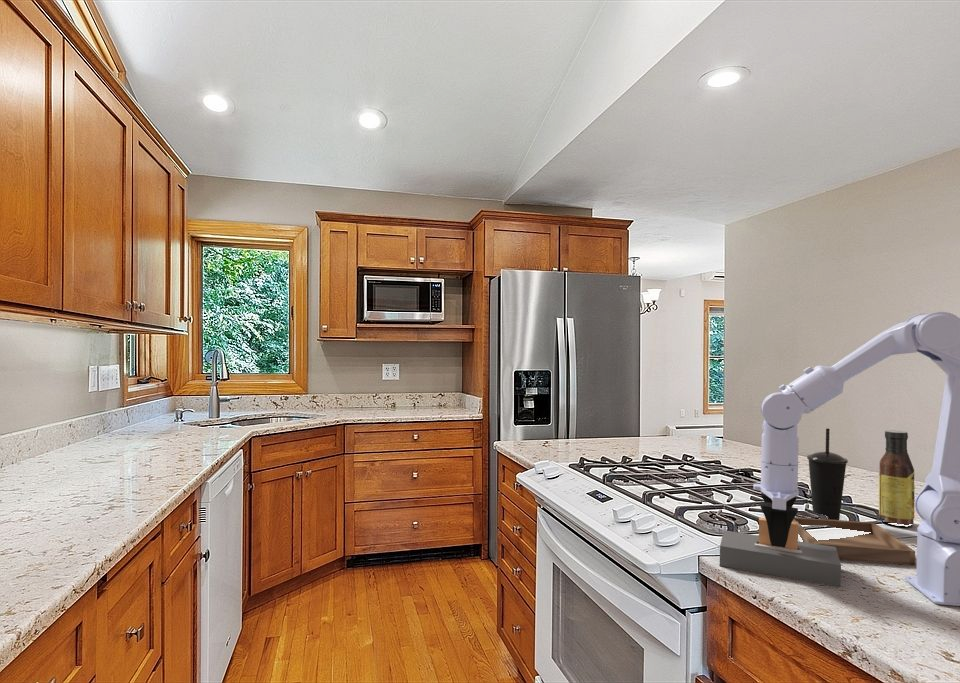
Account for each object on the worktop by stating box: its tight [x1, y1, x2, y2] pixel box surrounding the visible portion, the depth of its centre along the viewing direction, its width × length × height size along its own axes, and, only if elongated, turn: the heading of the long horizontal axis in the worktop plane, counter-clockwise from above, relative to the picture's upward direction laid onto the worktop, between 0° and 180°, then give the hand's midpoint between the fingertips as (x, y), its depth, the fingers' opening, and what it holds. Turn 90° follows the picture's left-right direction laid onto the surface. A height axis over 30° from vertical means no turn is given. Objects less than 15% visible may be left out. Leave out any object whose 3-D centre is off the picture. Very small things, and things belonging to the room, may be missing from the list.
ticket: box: [758, 516, 799, 550], centre depth 102 cm, size 6×2×8 cm, turn 63°
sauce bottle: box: [878, 429, 916, 525], centre depth 126 cm, size 7×6×20 cm
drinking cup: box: [806, 428, 849, 520], centre depth 127 cm, size 8×8×20 cm
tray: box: [792, 516, 916, 566], centre depth 112 cm, size 16×16×2 cm
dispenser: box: [719, 530, 842, 588], centre depth 102 cm, size 18×9×4 cm, turn 63°
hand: (777, 540), depth 102 cm, fingers open, 6 cm apart
